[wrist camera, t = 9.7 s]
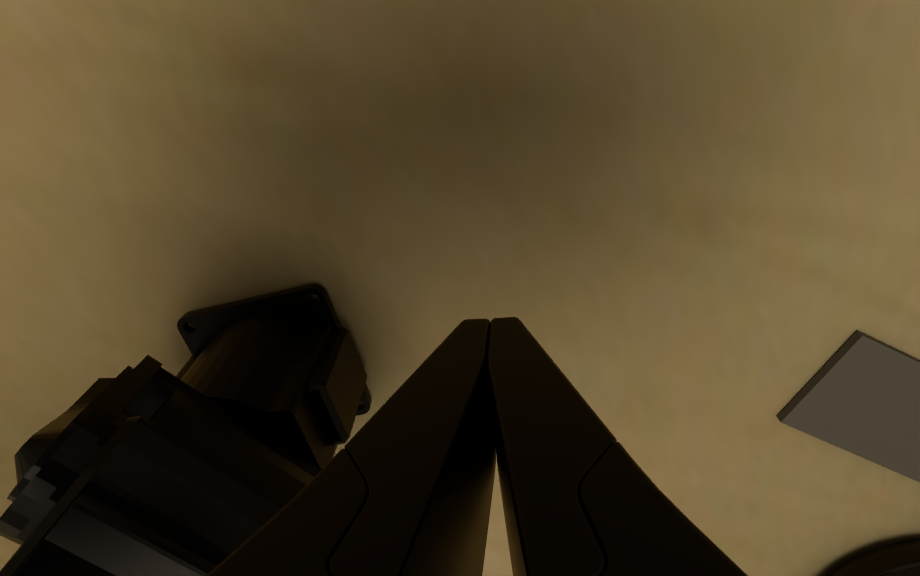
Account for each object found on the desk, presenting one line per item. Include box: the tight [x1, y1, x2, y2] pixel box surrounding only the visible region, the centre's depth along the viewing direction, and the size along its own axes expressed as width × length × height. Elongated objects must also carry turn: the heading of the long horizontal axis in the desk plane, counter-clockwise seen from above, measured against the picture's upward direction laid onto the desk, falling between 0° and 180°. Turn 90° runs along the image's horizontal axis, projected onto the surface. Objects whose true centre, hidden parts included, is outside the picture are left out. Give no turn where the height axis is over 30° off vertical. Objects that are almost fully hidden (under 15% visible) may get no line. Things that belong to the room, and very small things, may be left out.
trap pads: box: [777, 331, 920, 482], centre depth 30 cm, size 11×24×1 cm, turn 155°
